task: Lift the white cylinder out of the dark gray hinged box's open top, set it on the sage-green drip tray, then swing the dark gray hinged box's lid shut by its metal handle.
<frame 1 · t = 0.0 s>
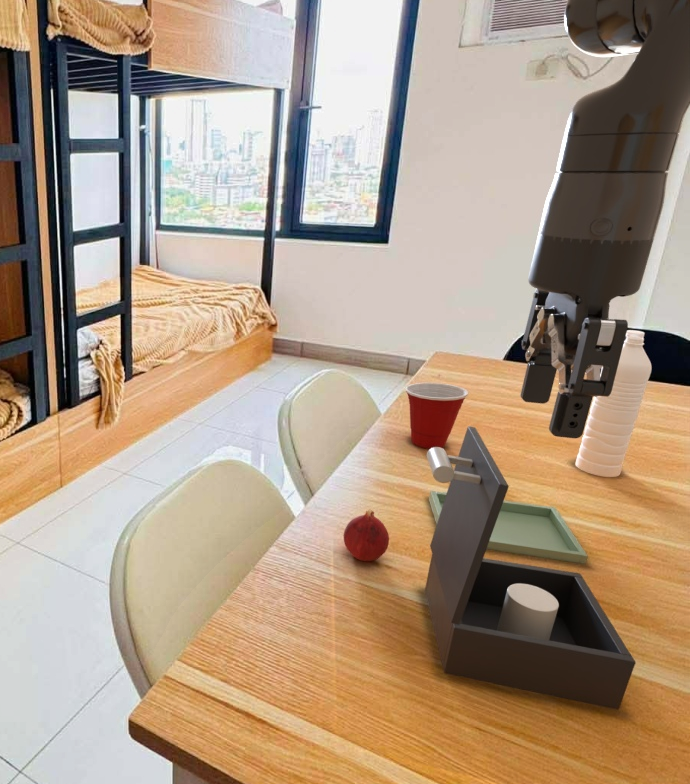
hand: (547, 417, 56), 31 cm above the table, tool pointing down, fingers open, 8 cm apart
water bottle: (596, 469, 114), on the table
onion: (362, 562, 88), on the table
plastic cup: (425, 446, 124), on the table
drip tray: (499, 532, 95), on the table
dark gray hinged box: (508, 648, 72), on the table
white cylinder: (519, 644, 71), point 1 cm above the table, touching dark gray hinged box
lid: (441, 515, 69), point 16 cm above the table, hinge at 85.0°
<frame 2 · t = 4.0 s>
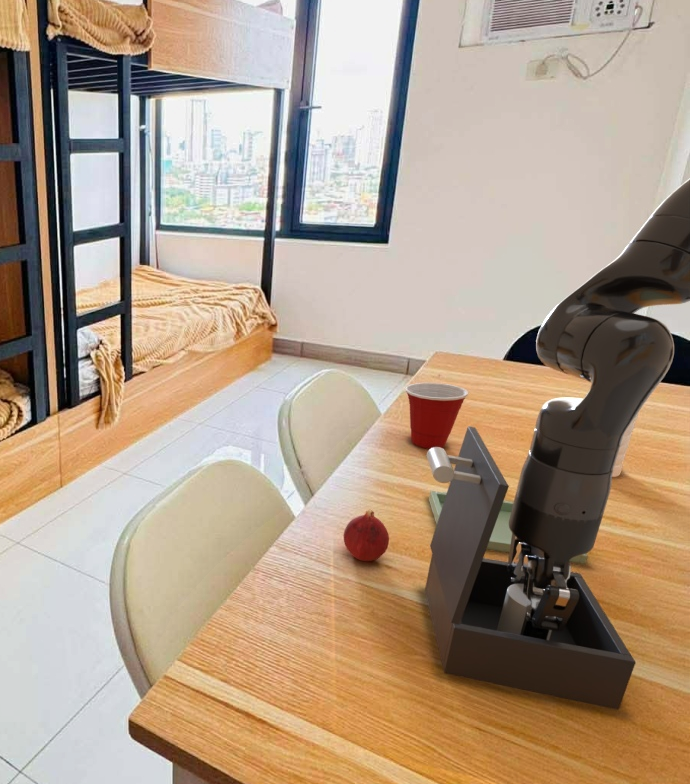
hand: (523, 630, 71), 3 cm above the table, tool pointing down, fingers closed on white cylinder, 4 cm apart
white cylinder: (519, 644, 71), point 1 cm above the table, touching dark gray hinged box, gripper
everything else where it was.
when the fingers open (2 cm above the table, at t = 12.3 s): white cylinder stays where it is, resting on drip tray.
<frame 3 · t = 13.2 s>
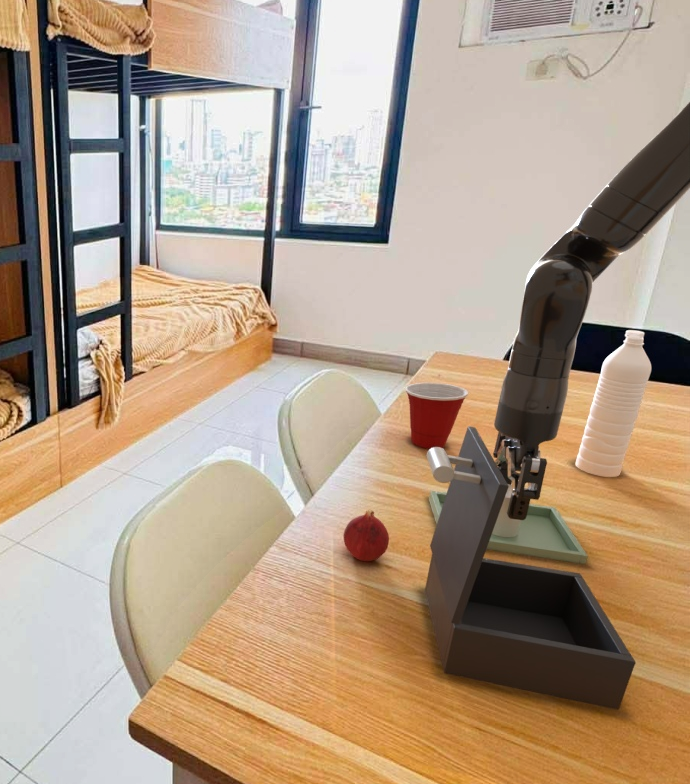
hand: (507, 503, 93), 5 cm above the table, tool pointing down, fingers open, 8 cm apart
white cylinder: (498, 528, 94), point 1 cm above the table, touching drip tray
everything else where it was.
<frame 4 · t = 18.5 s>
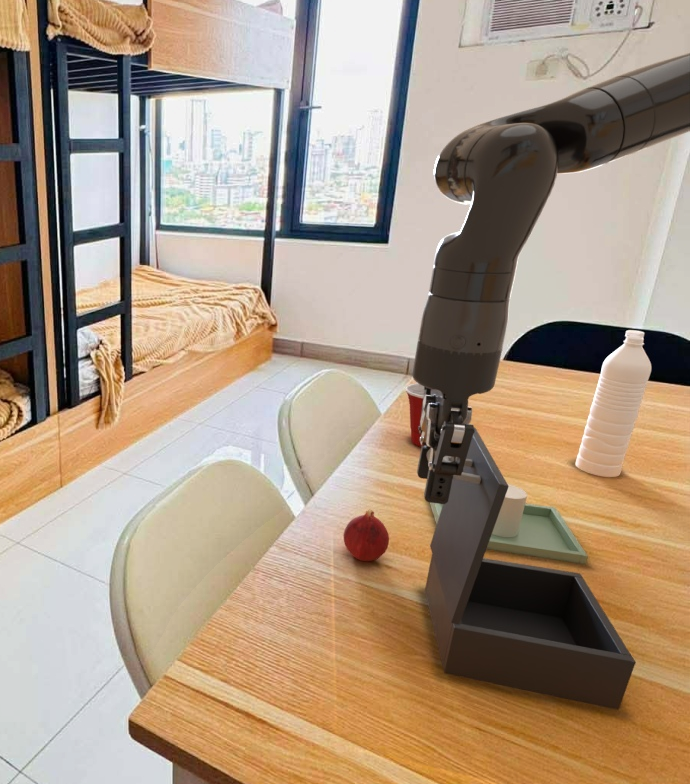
hand: (431, 488, 69), 19 cm above the table, tool pointing down, fingers closed on lid, 5 cm apart
lid: (441, 515, 69), point 16 cm above the table, hinge at 85.0°, touching gripper
everything else where it was.
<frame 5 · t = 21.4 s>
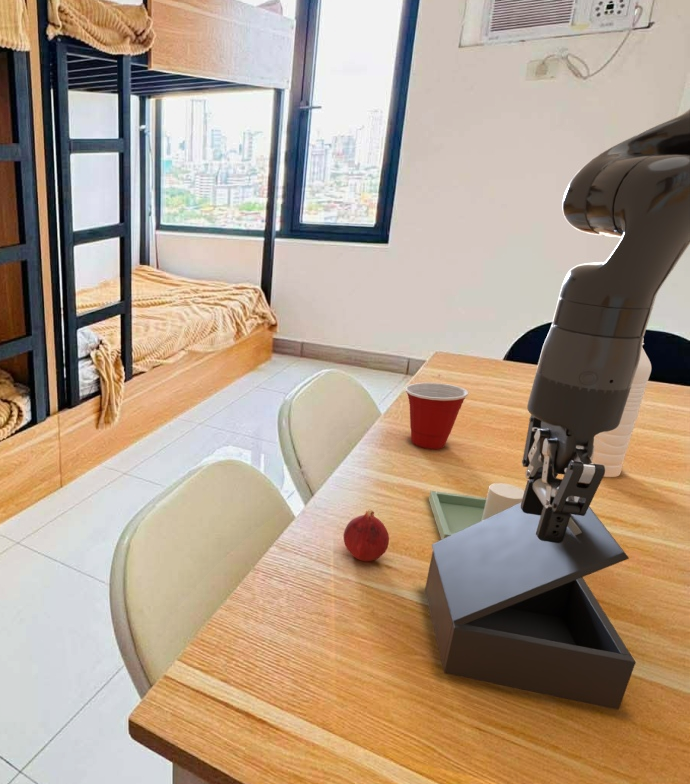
hand: (539, 525, 66), 16 cm above the table, tool pointing down, fingers closed on lid, 5 cm apart
lid: (503, 534, 68), point 15 cm above the table, hinge at 41.6°, touching gripper
everything else where it was.
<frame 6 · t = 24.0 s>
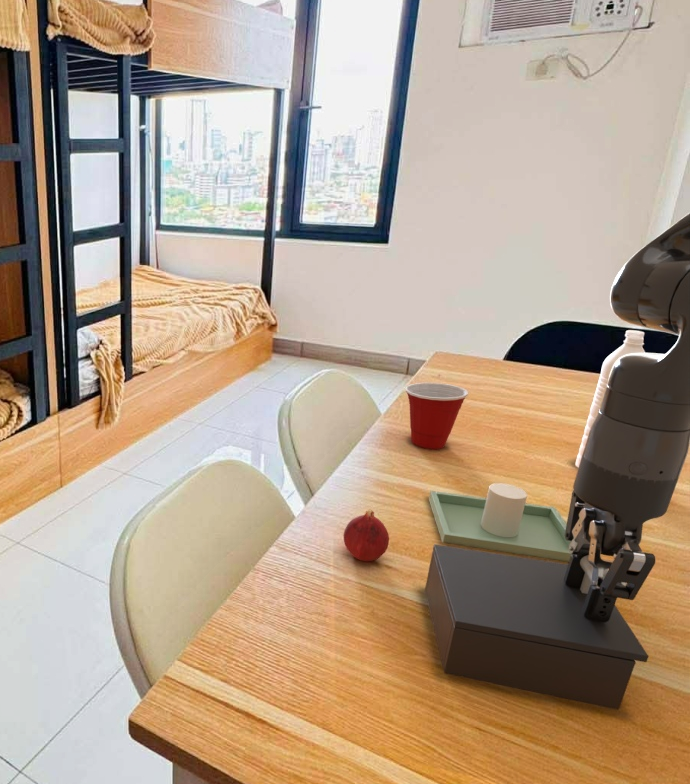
hand: (584, 601, 68), 8 cm above the table, tool pointing down, fingers closed on lid, 5 cm apart
lid: (530, 578, 69), point 10 cm above the table, hinge at 0.4°, touching gripper
everything else where it was.
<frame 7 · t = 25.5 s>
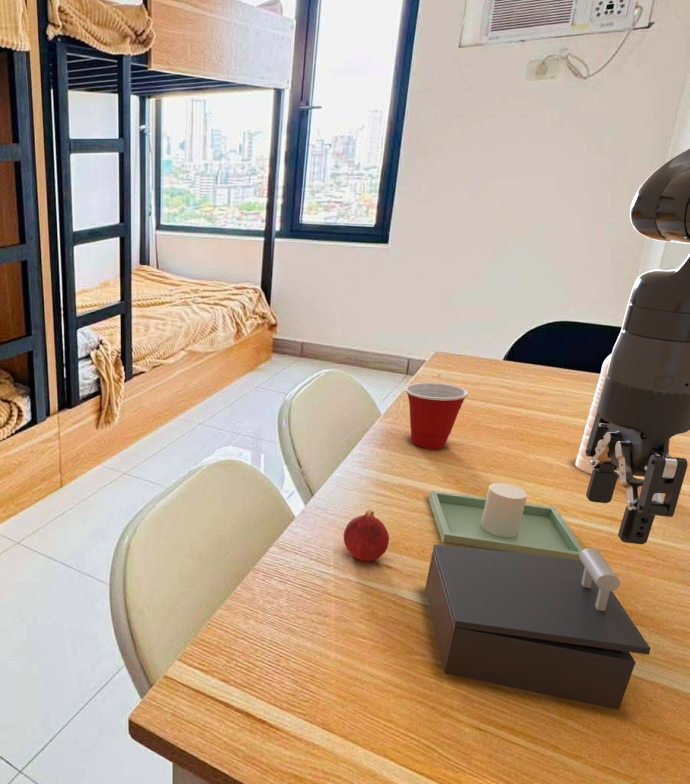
hand: (613, 520, 67), 16 cm above the table, tool pointing down, fingers open, 8 cm apart
lid: (530, 574, 68), point 10 cm above the table, hinge at 3.6°
everything else where it was.
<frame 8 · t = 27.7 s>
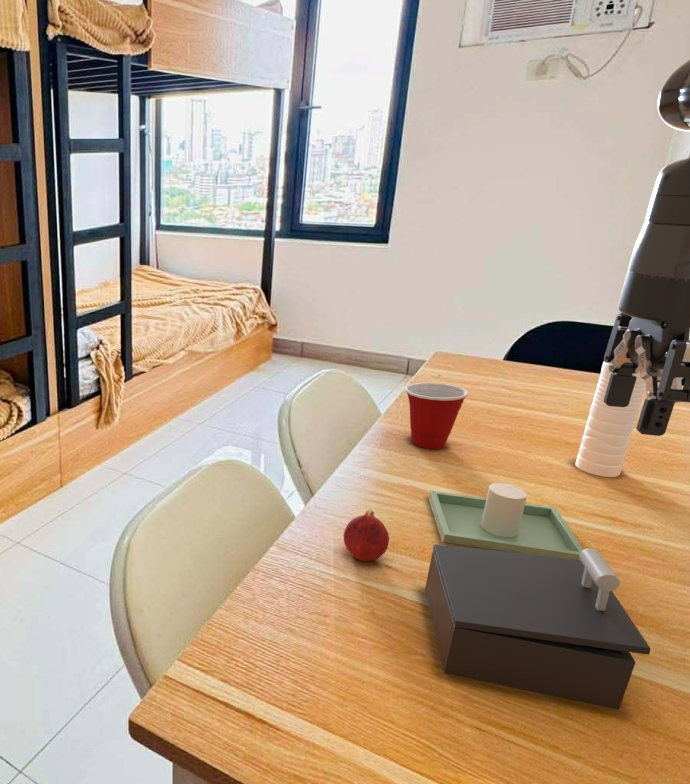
hand: (631, 418, 68), 26 cm above the table, tool pointing down, fingers open, 8 cm apart
nothing on the table moved.
at the end: white cylinder inside the target area in the drip tray (0.1 cm from its centre), point 0.6 cm above the drip tray's base; white cylinder tilted 0°; lid at +4° (first picture: +85°) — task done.
